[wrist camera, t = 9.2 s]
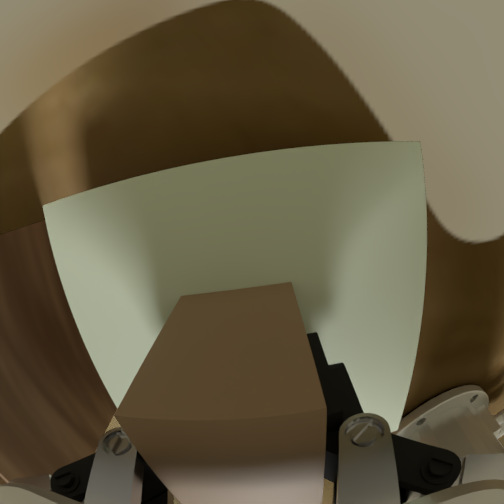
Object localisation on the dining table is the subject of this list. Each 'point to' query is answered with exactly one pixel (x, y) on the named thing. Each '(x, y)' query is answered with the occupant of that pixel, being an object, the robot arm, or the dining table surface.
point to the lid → (248, 307)
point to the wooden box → (43, 365)
